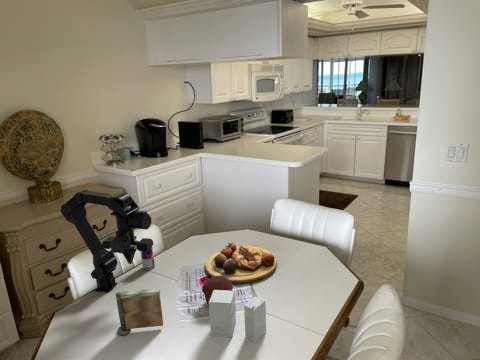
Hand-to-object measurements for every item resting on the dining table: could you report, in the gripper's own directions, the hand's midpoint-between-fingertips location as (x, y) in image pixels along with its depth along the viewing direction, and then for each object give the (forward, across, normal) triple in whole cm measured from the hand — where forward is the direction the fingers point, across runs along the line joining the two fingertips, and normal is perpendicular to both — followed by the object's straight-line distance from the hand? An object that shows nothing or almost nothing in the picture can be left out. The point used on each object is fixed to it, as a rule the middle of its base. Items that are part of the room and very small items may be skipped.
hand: (130, 263), depth 139 cm
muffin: (+13, +35, -1) cm, 37 cm away
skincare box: (+13, +52, -16) cm, 56 cm away
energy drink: (+13, -4, +20) cm, 24 cm away
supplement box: (+13, +41, -15) cm, 46 cm away
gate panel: (+12, +14, -20) cm, 27 cm away
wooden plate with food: (+14, +37, +28) cm, 48 cm away
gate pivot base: (+13, +8, -22) cm, 27 cm away
